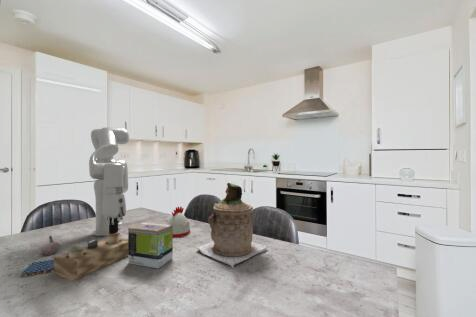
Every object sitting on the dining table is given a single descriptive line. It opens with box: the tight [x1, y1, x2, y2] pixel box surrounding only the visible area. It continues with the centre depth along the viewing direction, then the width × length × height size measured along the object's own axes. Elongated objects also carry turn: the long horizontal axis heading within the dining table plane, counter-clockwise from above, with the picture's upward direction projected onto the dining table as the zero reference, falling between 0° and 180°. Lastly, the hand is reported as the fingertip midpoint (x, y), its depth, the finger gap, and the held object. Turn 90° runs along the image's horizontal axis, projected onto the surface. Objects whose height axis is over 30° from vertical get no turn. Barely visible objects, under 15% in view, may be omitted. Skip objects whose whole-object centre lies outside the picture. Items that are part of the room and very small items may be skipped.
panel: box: [53, 237, 128, 281], centre depth 90 cm, size 24×12×6 cm, turn 154°
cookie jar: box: [195, 182, 268, 268], centre depth 102 cm, size 25×25×32 cm
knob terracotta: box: [106, 230, 121, 245], centre depth 97 cm, size 5×5×8 cm
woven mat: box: [19, 258, 54, 278], centre depth 86 cm, size 10×11×2 cm
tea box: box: [127, 221, 174, 269], centre depth 92 cm, size 15×10×15 cm
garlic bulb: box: [40, 235, 61, 256], centre depth 100 cm, size 8×7×8 cm
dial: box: [86, 239, 99, 249], centre depth 91 cm, size 4×4×3 cm
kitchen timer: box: [166, 206, 191, 238], centre depth 127 cm, size 14×14×15 cm
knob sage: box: [67, 244, 85, 260], centre depth 84 cm, size 5×5×8 cm
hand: (113, 232), depth 97 cm, fingers closed
